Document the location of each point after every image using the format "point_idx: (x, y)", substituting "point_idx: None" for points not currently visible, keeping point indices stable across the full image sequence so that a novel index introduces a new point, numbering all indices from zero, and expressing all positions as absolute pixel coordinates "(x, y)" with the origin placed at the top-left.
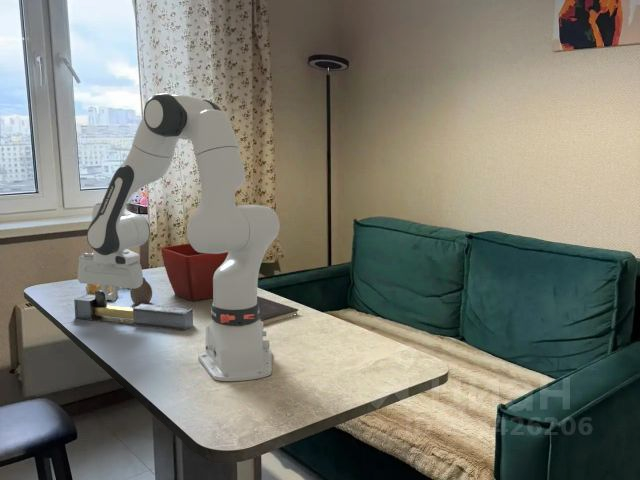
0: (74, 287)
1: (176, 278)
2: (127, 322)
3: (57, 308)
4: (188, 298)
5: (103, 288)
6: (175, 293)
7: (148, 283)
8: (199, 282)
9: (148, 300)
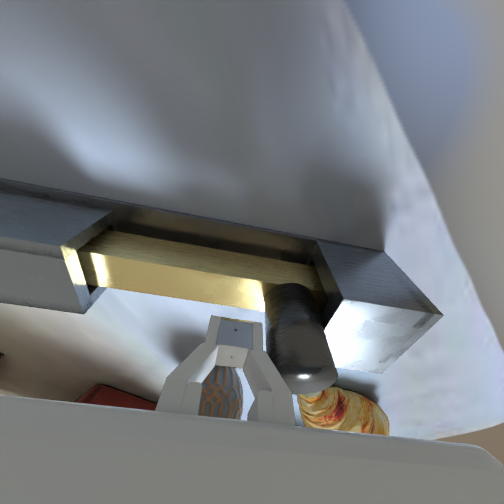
0: (412, 423)
1: None
2: (148, 219)
3: (455, 327)
4: (111, 392)
5: (272, 393)
6: None
7: None
8: None
9: None
